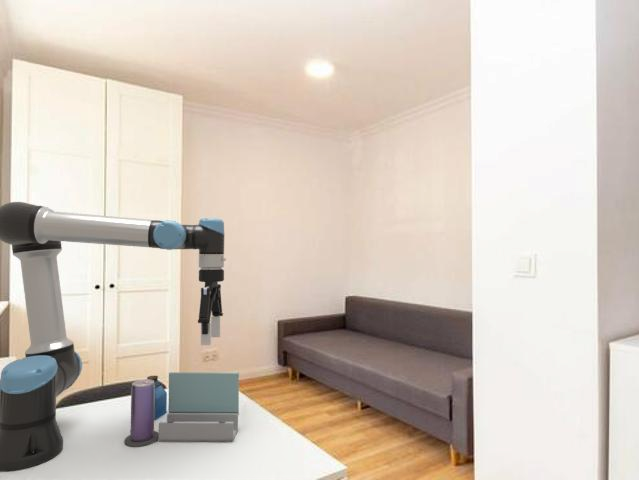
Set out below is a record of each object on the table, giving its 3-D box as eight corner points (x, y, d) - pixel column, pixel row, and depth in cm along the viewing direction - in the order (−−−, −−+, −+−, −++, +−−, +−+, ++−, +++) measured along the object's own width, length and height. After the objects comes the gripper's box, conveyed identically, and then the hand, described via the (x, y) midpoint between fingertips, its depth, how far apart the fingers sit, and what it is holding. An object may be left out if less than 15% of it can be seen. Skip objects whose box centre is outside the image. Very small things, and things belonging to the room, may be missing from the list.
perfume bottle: (166, 412, 130) (167, 374, 130) (155, 420, 124) (155, 380, 124) (148, 411, 131) (149, 373, 131) (136, 419, 125) (137, 379, 125)
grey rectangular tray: (158, 441, 110) (158, 422, 110) (168, 430, 117) (168, 411, 117) (232, 442, 110) (232, 422, 110) (237, 430, 117) (238, 412, 117)
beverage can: (145, 443, 108) (146, 386, 108) (125, 441, 109) (126, 384, 109) (158, 433, 113) (159, 379, 114) (139, 431, 115) (140, 378, 115)
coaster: (117, 447, 107) (117, 445, 107) (133, 431, 116) (133, 430, 116) (152, 447, 107) (152, 445, 107) (165, 432, 116) (165, 430, 116)
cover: (168, 373, 117) (170, 372, 118) (168, 415, 117) (169, 414, 118) (238, 373, 117) (239, 372, 118) (238, 415, 117) (238, 414, 118)
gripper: (213, 270, 114) (213, 349, 113) (231, 267, 137) (231, 333, 136) (187, 270, 114) (186, 349, 113) (209, 267, 137) (209, 333, 136)
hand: (210, 340), depth 125 cm, fingers open, 10 cm apart
